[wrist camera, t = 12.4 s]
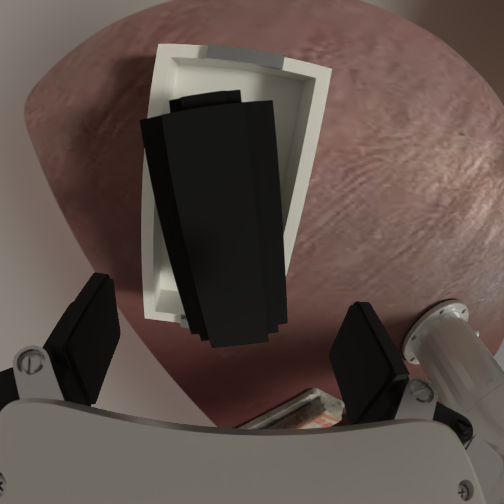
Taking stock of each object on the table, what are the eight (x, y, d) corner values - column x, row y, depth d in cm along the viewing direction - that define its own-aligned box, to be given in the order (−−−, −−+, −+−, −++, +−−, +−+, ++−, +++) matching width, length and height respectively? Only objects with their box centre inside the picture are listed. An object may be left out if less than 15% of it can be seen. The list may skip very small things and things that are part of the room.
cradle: (314, 74, 21) (334, 68, 16) (265, 301, 31) (271, 334, 27) (170, 54, 19) (156, 42, 14) (153, 290, 29) (143, 322, 25)
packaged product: (320, 409, 36) (353, 422, 40) (313, 383, 40) (345, 400, 44) (234, 450, 41) (273, 459, 45) (233, 427, 45) (270, 439, 49)
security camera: (205, 297, 29) (199, 376, 20) (169, 106, 20) (128, 106, 11) (273, 289, 29) (291, 366, 20) (256, 93, 20) (276, 83, 12)
